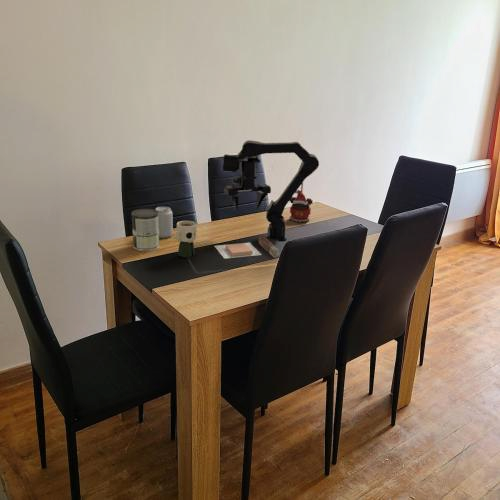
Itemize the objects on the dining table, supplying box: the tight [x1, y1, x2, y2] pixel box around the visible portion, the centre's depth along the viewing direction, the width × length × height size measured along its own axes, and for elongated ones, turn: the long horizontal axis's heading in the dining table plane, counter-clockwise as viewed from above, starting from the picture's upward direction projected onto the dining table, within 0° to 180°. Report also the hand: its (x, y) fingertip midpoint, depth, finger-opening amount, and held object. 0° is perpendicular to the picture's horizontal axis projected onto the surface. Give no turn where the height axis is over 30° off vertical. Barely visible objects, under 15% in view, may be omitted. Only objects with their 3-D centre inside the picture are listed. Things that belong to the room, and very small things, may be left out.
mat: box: [214, 242, 263, 260], centre depth 197 cm, size 15×14×1 cm
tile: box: [224, 242, 252, 257], centre depth 196 cm, size 8×2×9 cm
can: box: [155, 206, 174, 239], centre depth 210 cm, size 8×8×12 cm
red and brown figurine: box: [288, 182, 313, 223], centre depth 237 cm, size 11×9×18 cm
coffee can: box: [130, 208, 160, 252], centre depth 198 cm, size 10×10×14 cm
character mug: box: [175, 220, 197, 258], centre depth 190 cm, size 11×7×13 cm, turn 145°
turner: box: [258, 236, 280, 258], centre depth 198 cm, size 2×16×4 cm, turn 20°
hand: (246, 209), depth 210 cm, fingers open, 9 cm apart
